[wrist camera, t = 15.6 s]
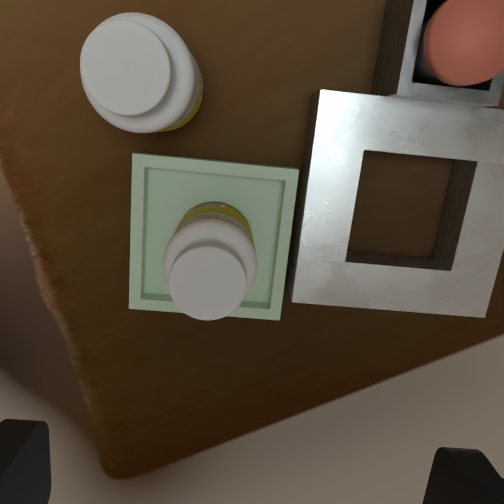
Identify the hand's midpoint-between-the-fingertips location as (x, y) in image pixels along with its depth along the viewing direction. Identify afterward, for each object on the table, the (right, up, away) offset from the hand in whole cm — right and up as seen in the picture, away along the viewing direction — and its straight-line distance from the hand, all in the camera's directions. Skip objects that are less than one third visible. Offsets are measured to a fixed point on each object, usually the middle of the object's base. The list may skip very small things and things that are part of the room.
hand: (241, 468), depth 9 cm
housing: (+11, +11, +21) cm, 26 cm away
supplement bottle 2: (-2, +6, +22) cm, 23 cm away
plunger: (+12, +17, +18) cm, 28 cm away
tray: (-3, +6, +22) cm, 23 cm away
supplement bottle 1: (-6, +15, +20) cm, 26 cm away
